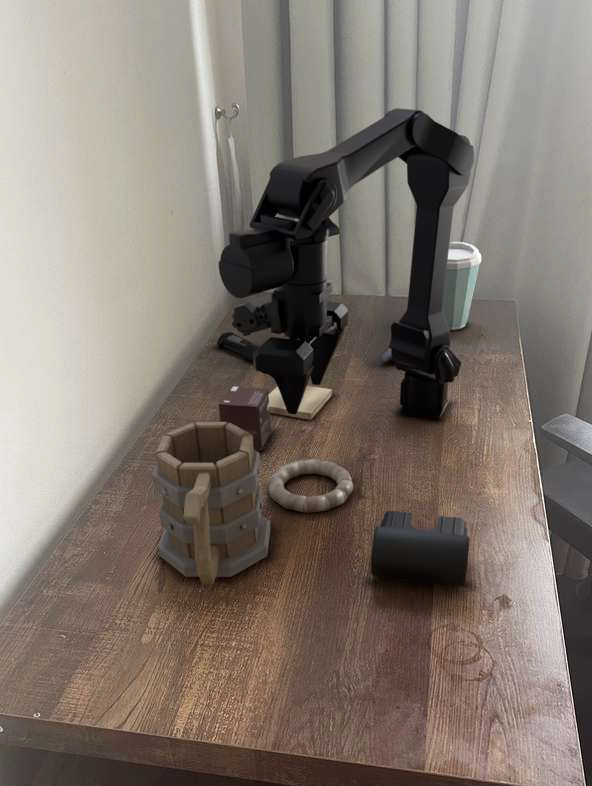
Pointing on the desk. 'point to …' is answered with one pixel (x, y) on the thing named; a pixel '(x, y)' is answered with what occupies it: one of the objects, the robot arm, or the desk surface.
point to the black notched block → (421, 550)
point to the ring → (310, 502)
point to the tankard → (210, 500)
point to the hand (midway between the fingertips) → (304, 398)
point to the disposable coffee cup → (459, 283)
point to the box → (248, 412)
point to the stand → (309, 403)
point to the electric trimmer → (237, 344)
